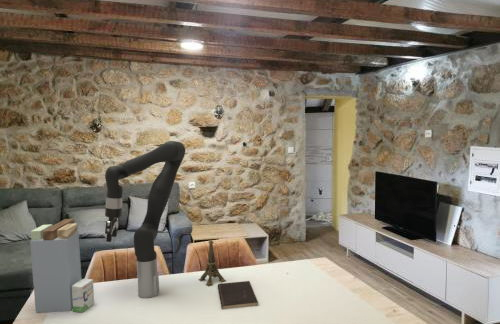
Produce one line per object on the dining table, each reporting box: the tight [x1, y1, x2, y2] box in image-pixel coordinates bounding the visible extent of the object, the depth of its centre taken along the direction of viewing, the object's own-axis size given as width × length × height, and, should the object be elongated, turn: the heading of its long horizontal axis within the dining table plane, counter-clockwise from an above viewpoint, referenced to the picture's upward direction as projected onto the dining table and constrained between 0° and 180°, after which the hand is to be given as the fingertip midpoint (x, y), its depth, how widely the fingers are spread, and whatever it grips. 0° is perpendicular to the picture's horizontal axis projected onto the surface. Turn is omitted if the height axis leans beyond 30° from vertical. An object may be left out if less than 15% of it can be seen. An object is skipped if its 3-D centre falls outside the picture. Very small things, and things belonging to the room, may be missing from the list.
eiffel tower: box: [198, 240, 227, 287], centre depth 189 cm, size 11×11×25 cm
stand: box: [29, 230, 83, 314], centre depth 165 cm, size 15×13×32 cm
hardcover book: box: [217, 280, 259, 310], centre depth 172 cm, size 16×23×2 cm
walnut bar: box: [43, 218, 75, 241], centre depth 168 cm, size 4×22×4 cm, turn 4°
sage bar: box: [30, 223, 53, 241], centre depth 163 cm, size 4×11×4 cm, turn 4°
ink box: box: [72, 278, 95, 313], centre depth 163 cm, size 9×5×12 cm, turn 168°
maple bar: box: [57, 222, 78, 239], centre depth 164 cm, size 4×11×4 cm, turn 4°
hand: (111, 239), depth 180 cm, fingers open, 8 cm apart
